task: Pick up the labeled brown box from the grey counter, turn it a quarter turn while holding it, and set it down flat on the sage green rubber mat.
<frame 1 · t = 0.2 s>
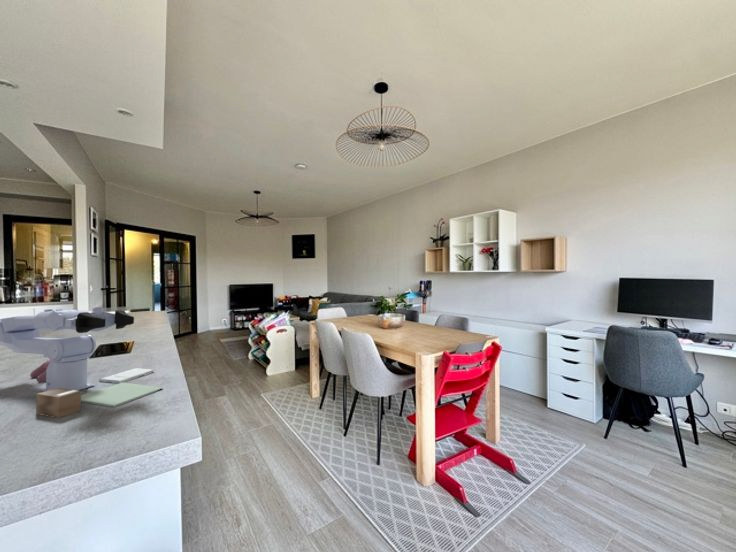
hand: (119, 321, 88), 21 cm above the countertop, tool horizontal, fingers open, 7 cm apart
external hard drive: (127, 379, 105), on the countertop
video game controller: (46, 378, 103), on the countertop
labeled brown box: (58, 412, 77), on the countertop
sage mat: (118, 394, 89), on the countertop
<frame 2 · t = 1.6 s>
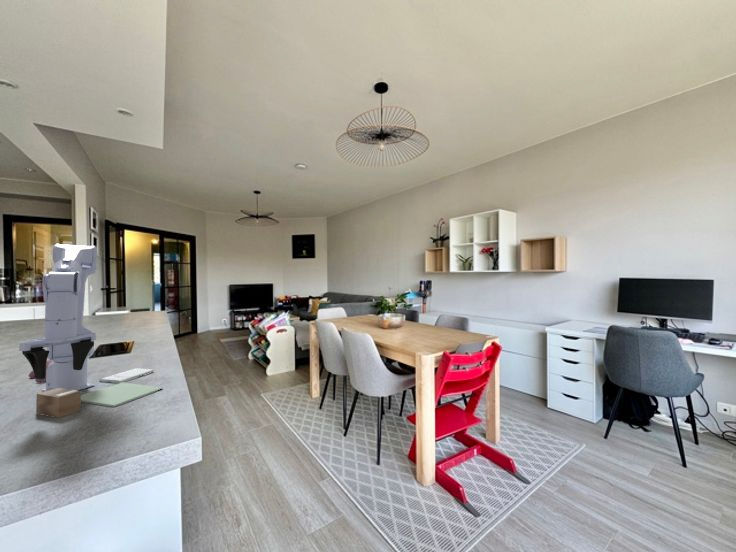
hand: (59, 373, 77), 9 cm above the countertop, tool pointing down, fingers open, 7 cm apart
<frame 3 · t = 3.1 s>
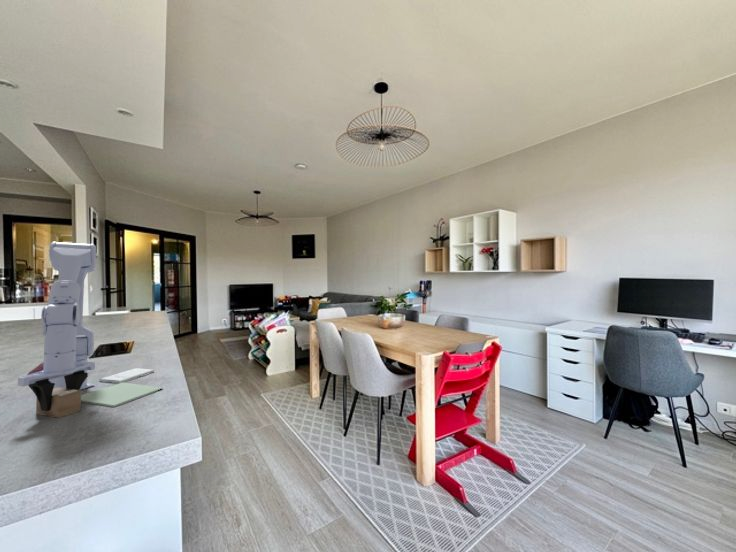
hand: (58, 406, 77), 1 cm above the countertop, tool pointing down, fingers closed on labeled brown box, 4 cm apart
labeled brown box: (58, 411, 77), on the countertop, touching gripper
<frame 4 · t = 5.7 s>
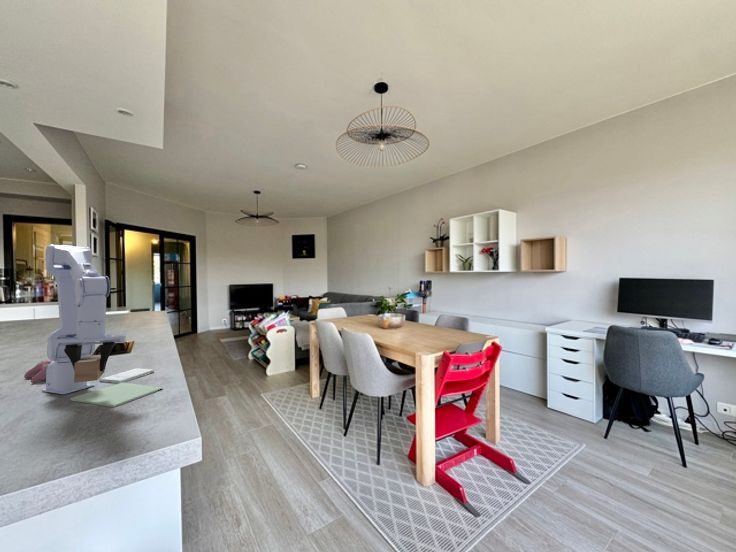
hand: (90, 371, 83), 8 cm above the countertop, tool pointing down, fingers closed on labeled brown box, 4 cm apart
labeled brown box: (90, 377, 83), point 7 cm above the countertop, touching gripper
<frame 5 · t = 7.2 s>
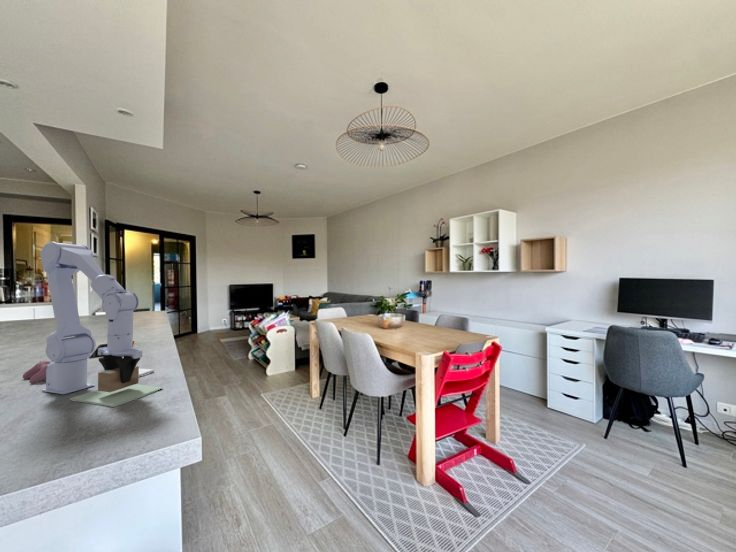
hand: (119, 381, 89), 4 cm above the countertop, tool pointing down, fingers closed on labeled brown box, 4 cm apart
labeled brown box: (118, 386, 89), point 2 cm above the countertop, touching gripper
when the fingers open (3 cm above the countertop, at t = 8.6 s): labeled brown box stays where it is, resting on sage mat.
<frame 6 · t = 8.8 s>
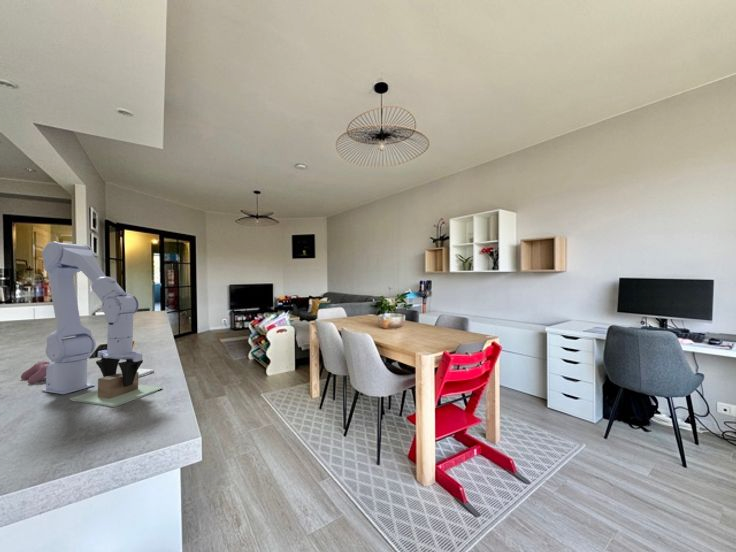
hand: (119, 384, 89), 3 cm above the countertop, tool pointing down, fingers open, 6 cm apart
labeled brown box: (118, 392, 89), resting on sage mat
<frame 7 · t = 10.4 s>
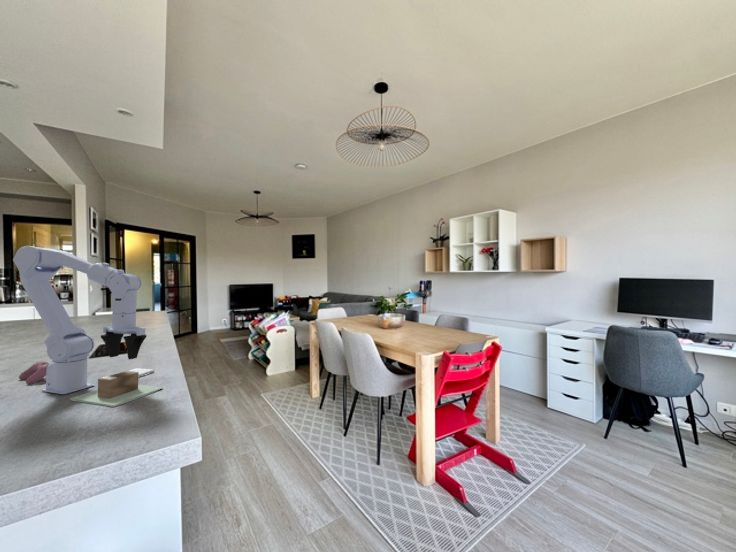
hand: (123, 357, 94), 9 cm above the countertop, tool pointing down, fingers open, 7 cm apart
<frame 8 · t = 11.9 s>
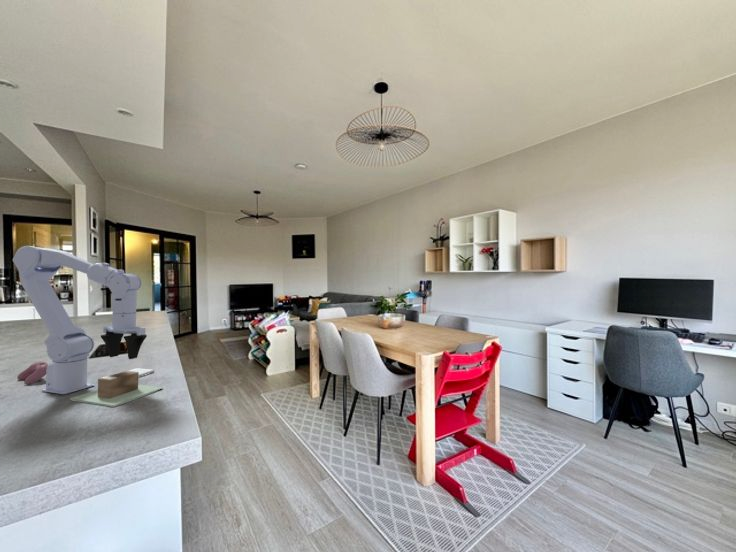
hand: (123, 357, 94), 9 cm above the countertop, tool pointing down, fingers open, 7 cm apart
at the end: labeled brown box inside the target area on the sage mat (0.1 cm from its centre), point 0.5 cm above the sage mat's base; labeled brown box tilted 0°; labeled brown box touching sage mat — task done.
